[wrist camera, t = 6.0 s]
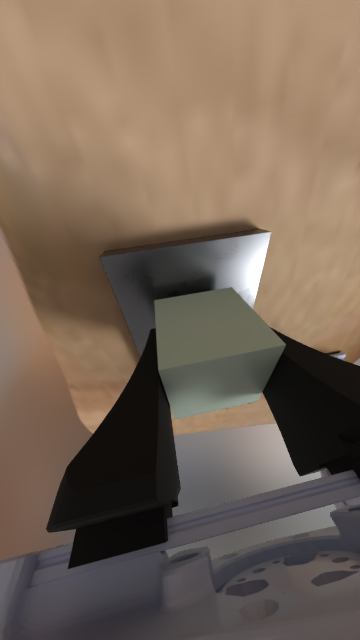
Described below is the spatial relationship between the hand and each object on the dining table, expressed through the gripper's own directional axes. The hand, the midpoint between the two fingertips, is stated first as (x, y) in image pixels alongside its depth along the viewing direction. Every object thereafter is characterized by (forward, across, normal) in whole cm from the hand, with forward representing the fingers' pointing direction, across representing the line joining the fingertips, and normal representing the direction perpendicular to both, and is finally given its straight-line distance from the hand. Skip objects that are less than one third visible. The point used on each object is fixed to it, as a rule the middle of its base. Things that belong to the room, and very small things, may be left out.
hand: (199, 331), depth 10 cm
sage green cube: (+1, 0, 0) cm, 1 cm away
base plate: (+3, 0, +5) cm, 6 cm away
